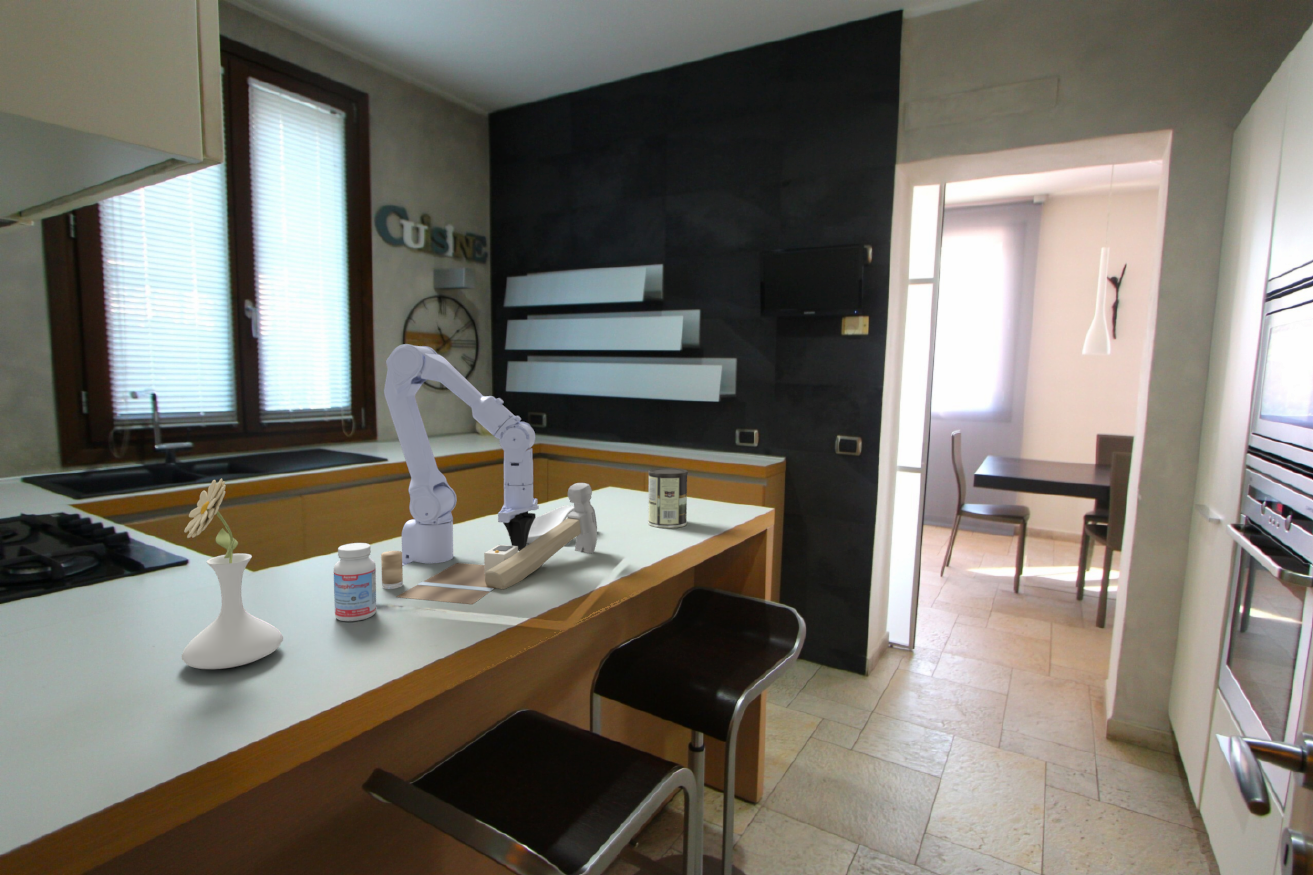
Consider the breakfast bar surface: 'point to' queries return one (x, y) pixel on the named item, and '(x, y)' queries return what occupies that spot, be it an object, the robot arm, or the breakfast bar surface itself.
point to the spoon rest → (548, 522)
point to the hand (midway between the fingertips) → (519, 549)
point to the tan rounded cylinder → (392, 569)
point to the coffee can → (667, 497)
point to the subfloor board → (452, 585)
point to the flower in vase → (227, 601)
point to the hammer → (551, 541)
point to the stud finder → (498, 555)
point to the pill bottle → (354, 583)
